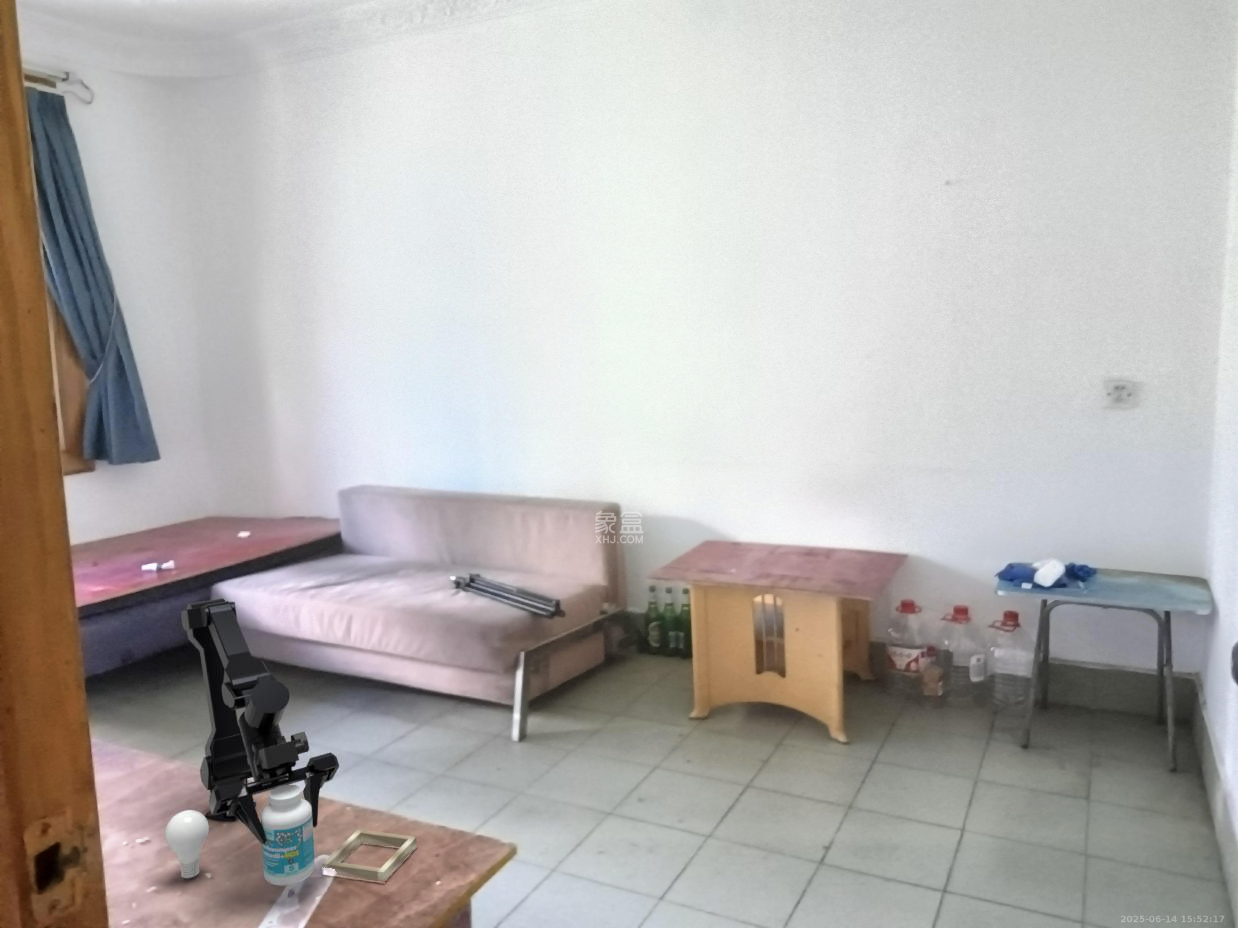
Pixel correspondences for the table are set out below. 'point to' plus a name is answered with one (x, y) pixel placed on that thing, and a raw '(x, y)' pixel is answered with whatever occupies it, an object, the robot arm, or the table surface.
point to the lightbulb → (187, 839)
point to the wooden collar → (371, 838)
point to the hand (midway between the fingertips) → (290, 834)
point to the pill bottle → (287, 836)
